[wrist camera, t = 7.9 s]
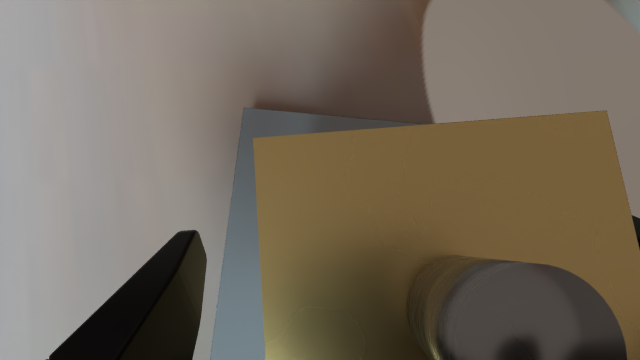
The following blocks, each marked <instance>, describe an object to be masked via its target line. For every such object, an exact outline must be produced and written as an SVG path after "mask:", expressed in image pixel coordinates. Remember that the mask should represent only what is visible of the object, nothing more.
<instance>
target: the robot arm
mask: <svg viewBox="0 0 640 360" xmlns="http://www.w3.org/2000/svg"><path fill="white" fill-rule="evenodd" d="M632 219H633V224H634V228H635V232H636V236H637V240H638V245H639V249H640V218H637V217H635V216H632ZM206 264H207V258H206V253H205V250H204V247H203V244H202V241H201V238H200V235H199V233H198V232H197V231H196V230H187V231H180V232H178V233H177V234H175V235H174V236H173V237H172V238H171V239H170V240H169V241H168V242H167V243H166V244H165V245H164V246H163V247H162V248H161V249H160V250H159V251H158V252H157V253H156V254H155V255H154V256H153V257H152V258H151V259H150V260H148V261H147V262H146V263H145V264H144V265H143V266H142V267H141V268H140V269H139V270H138V271H137V272H136V273H135V274H134V275H133V276H132V277H131V278H130V279H129V280H128V281H127V282H126V283H125V284H124V285H123V286H121V287H120V288H119V289H118V290H117V291H116V292H115V293H114V294H113V295H112V296H111V297H110V298H109V299H108V300H107V301H106V302H105V303H104V304H103V305H102V306H101V307H100V308H99V309H98V310H97V311H95V312H94V313H93V314H92V315H91V316H90V317H89V318H88V319H87V320H86V321H85V322H84V323H83V324H82V325H81V326H80V327H79V328H78V329H77V330H76V331H75V332H74V333H73V334H72V335H71V336H70V337H68V338H67V339H66V340H65V341H64V342H63V343H62V344H61V345H60V346H59V347H58V348H57V349H56V350H55V351H54V352H53V353H52V354H51V355H50V356H49V359H46V360H192V358H193V353H194V349H195V344H196V340H197V336H198V331H199V326H200V319H201V311H202V302H203V292H204V283H205V273H206Z"/></svg>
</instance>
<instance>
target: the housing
mask: <svg viewBox="0 0 640 360" xmlns="http://www.w3.org/2000/svg"><path fill="white" fill-rule="evenodd" d="M253 148H254V165H255V183H256V200H257V218H258V236H259V253H260V271H261V288H262V306H263V323H264V341H265V358H266V360H640V249H639V245H638V240H637V236H636V232H635V228H634V224H633V219H632V215H631V211H630V207H629V203H628V198H627V195H626V190H625V186H624V182H623V177H622V173H621V169H620V165H619V161H618V157H617V152H616V148H615V144H614V140H613V135H612V131H611V127H610V123H609V119H608V114H607V111H594V112H582V113H569V114H556V115H542V116H530V117H517V118H504V119H491V120H478V121H465V122H453V123H440V124H427V125H414V126H401V127H388V128H375V129H362V130H349V131H337V132H324V133H311V134H298V135H285V136H272V137H259V138H253Z"/></svg>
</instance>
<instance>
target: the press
mask: <svg viewBox="0 0 640 360" xmlns="http://www.w3.org/2000/svg"><path fill="white" fill-rule="evenodd" d="M414 125H427V124H416V123H405V122H394V121H384V120H373V119H362V118H351V117H340V116H330V115H319V114H308V113H297V112H286V111H276V110H265V109H254V108H243V116H242V123H241V131H240V138H239V146H238V153H237V161H236V168H235V176H234V183H233V191H232V198H231V205H230V213H229V220H228V228H227V235H226V243H225V250H224V258H223V265H222V273H221V280H220V288H219V295H218V303H217V310H216V318H215V325H214V332H213V340H212V347H211V355H210V360H266V358H265V341H264V323H263V306H262V288H261V271H260V253H259V236H258V218H257V200H256V183H255V165H254V148H253V138H259V137H272V136H285V135H298V134H311V133H324V132H337V131H349V130H362V129H375V128H388V127H401V126H414Z"/></svg>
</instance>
